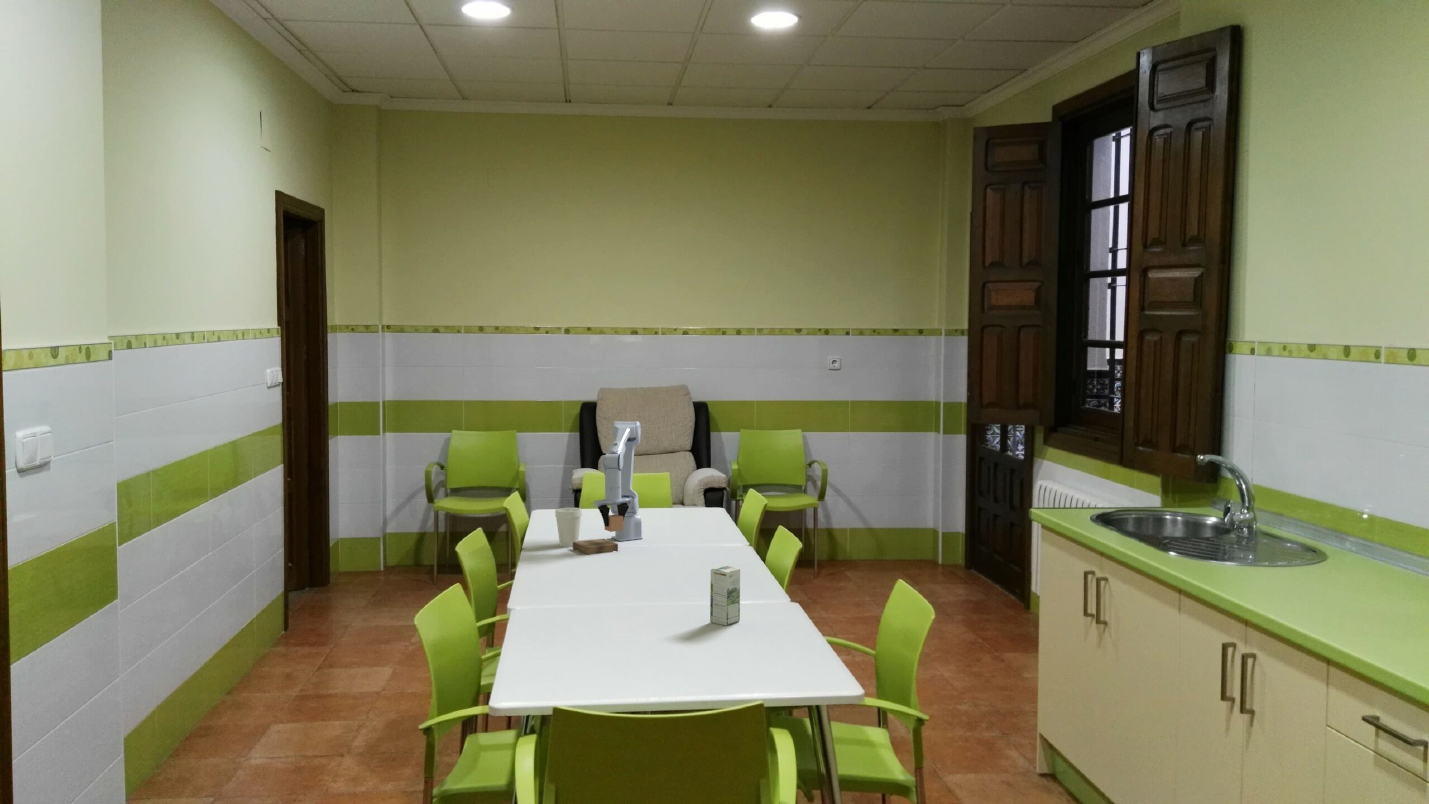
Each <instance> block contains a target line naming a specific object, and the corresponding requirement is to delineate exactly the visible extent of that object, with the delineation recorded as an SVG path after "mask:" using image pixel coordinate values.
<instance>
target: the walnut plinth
mask: <svg viewBox="0 0 1429 804" xmlns="http://www.w3.org/2000/svg"><path fill="white" fill-rule="evenodd" d="M572 549H573V550H574V551H576V550H577V552H579V553H581V554H584V555H586V556H588V555H590V554H591V555H598V554H606V553H614V552H613V551H616V552H619V544H618V543H616V542H615V541H614V542H613V541H611V540H609V539H605V538H597V539H589V540H580V541H579V540H578V542H573V547H572ZM591 555H590V556H591Z"/></svg>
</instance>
